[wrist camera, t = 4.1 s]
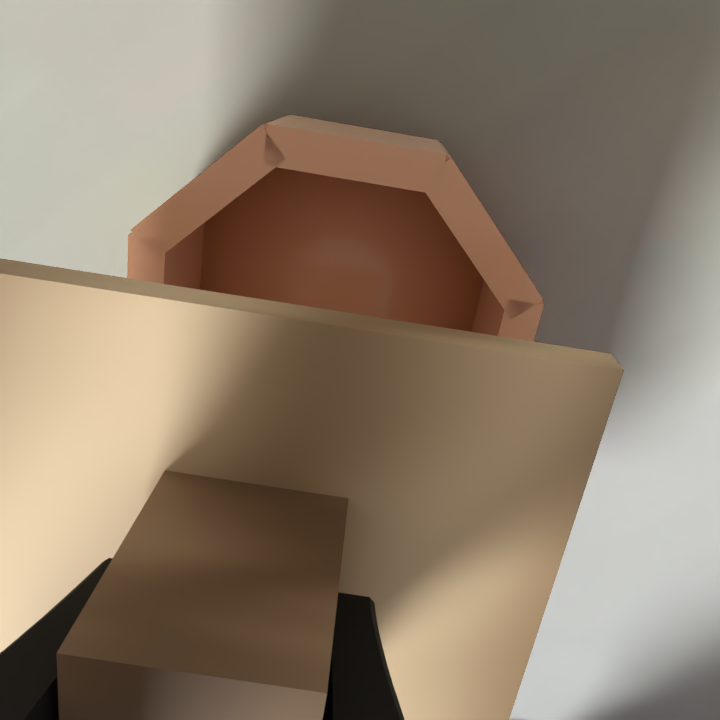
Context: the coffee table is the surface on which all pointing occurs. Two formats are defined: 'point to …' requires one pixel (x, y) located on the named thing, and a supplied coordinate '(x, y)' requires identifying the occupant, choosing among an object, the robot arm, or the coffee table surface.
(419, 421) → the oak lid
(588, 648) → the coffee table surface
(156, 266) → the terracotta bowl
